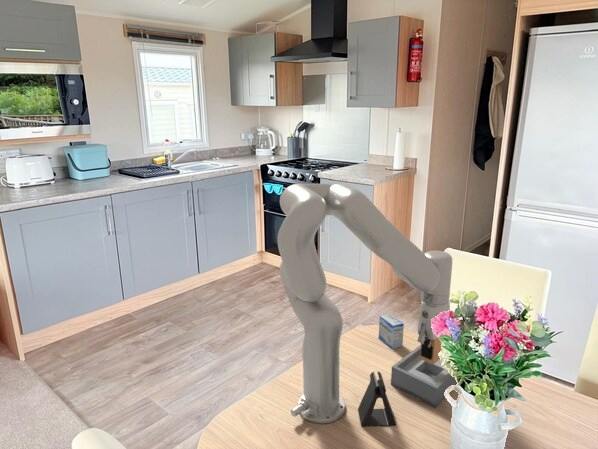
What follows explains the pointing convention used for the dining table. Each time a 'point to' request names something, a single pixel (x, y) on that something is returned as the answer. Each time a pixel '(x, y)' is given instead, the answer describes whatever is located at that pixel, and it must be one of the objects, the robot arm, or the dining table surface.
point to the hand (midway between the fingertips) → (430, 353)
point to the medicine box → (391, 331)
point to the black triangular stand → (366, 407)
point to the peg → (436, 349)
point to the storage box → (421, 378)
